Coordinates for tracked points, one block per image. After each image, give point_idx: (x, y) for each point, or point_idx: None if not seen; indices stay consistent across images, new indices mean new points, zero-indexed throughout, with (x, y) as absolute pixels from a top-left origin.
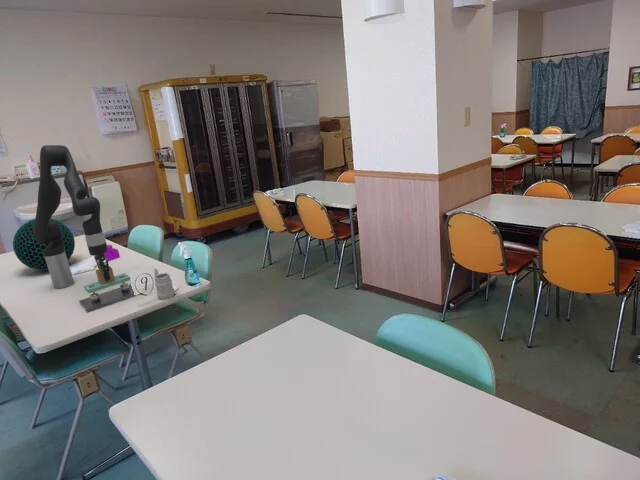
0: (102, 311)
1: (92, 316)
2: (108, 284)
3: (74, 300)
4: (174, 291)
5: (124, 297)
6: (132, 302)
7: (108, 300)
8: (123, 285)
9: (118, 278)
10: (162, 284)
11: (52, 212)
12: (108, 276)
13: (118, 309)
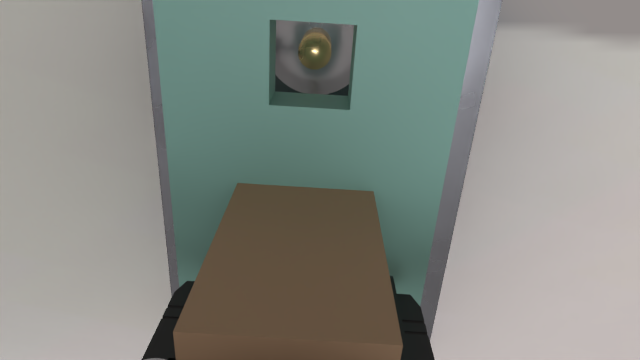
0: (513, 293)
1: (523, 354)
2: (420, 285)
3: (72, 345)
4: None
5: (477, 105)
6: (617, 78)
7: None
8: (338, 58)
9: (340, 132)
10: None
11: None
12: (422, 335)
13: (619, 212)
